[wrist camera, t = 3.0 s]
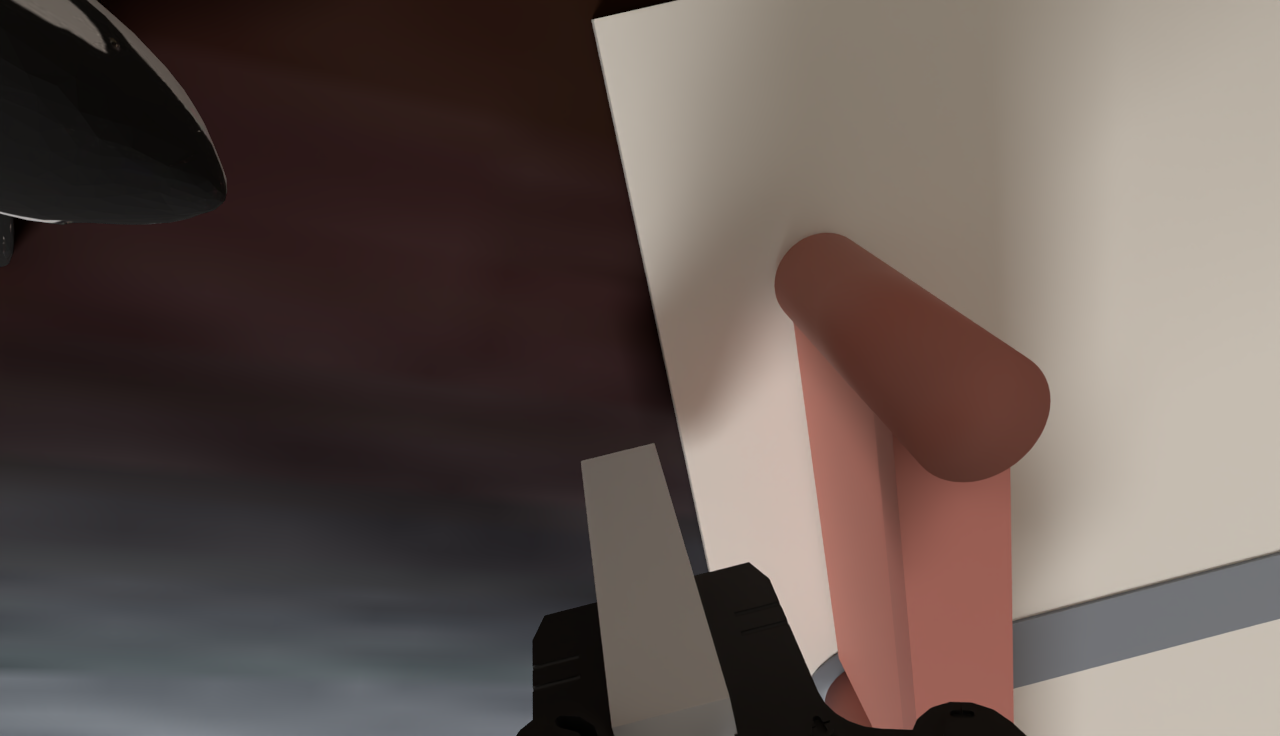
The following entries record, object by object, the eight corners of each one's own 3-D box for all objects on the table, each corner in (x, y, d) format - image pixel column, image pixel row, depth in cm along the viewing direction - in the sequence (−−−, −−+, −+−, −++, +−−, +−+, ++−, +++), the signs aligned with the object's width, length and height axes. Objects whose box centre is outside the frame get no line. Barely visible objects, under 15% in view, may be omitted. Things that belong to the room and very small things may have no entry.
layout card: (798, 995, 28) (804, 1014, 27) (591, 19, 15) (593, 19, 14) (1256, 869, 29) (1270, 885, 28) (1448, -176, 15) (1481, -183, 15)
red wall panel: (901, 641, 21) (1045, 880, 15) (827, 660, 21) (943, 907, 15) (863, 222, 16) (1051, 333, 10) (768, 245, 16) (904, 370, 10)
